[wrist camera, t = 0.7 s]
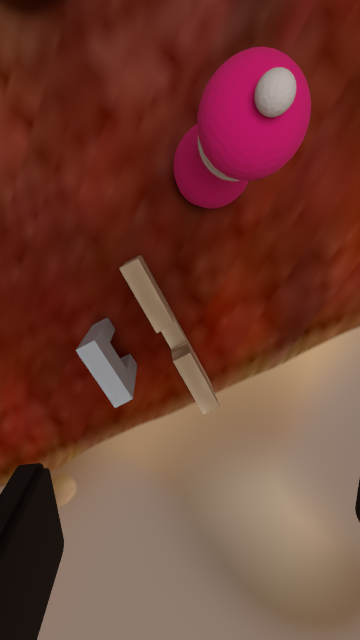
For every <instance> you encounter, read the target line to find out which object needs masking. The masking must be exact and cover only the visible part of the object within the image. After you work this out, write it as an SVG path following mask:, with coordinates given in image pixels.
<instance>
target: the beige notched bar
mask: <svg viewBox="0 0 360 640" xmlns="http://www.w3.org/2000/svg"><path fill="white" fill-rule="evenodd" d="M119 269H120V271H121V272H122V274H123V276H124V278H125V279H126V281H127V283H128V285H129V286H130V288H131V290H132V292H133V293H134V295H135V297H136V298H137V300H138V302H139V304H140V305H141V307H142V309H143V311H144V312H145V314H146V316H147V317H148V319H149V321H150V323H151V324H152V326H153V328H154V330H155V331H156V333H158V332H160V331H161V332H162V334H163V336H164V338H165V339H166V341H167V343H168V345H169V346H170V348H171V352H172V359H173V363H174V364H175V366H176V368H177V369H178V371H179V373H180V375H181V376H182V378H183V380H184V382H185V383H186V385H187V387H188V389H189V390H190V392H191V394H192V395H193V397H194V399H195V401H196V402H197V404H198V405H199V408H200V409H201V411H202V413H203V414H205V413H207V412H209V411H211V410H213V409H215V408H217V407H219V403H218V401H217V398H216V395H215V393H214V390H213V387H212V385H211V382H210V380H209V378H208V376H207V374H206V373H205V371H204V369H203V367H202V365H201V363H200V362H199V360H198V358H197V356H196V354H195V352H194V351H193V349H192V347H191V345H190V343H189V341H188V340H187V338H186V336H185V334H184V332H183V330H182V329H181V327H180V325H179V323H178V321H177V320H176V318H175V316H174V314H173V312H172V310H171V309H170V307H169V305H168V303H167V301H166V299H165V298H164V296H163V294H162V292H161V290H160V288H159V287H158V285H157V283H156V281H155V279H154V277H153V276H152V274H151V272H150V270H149V268H148V266H147V265H146V263H145V261H144V259H143V257H142V255H139V256H137V257H135V258H133V259H131V260H129V261H128V262H126V263H125V264H123V265H122V266H121V267H120V268H119Z"/></svg>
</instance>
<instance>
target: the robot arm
mask: <svg viewBox="0 0 360 640" xmlns="http://www.w3.org/2000/svg"><path fill="white" fill-rule="evenodd" d="M355 508H356V509H355V510H356V514H357V518H358V520H359V522H360V480H359V487H358V493H357V500H356V507H355ZM63 548H64V539H63V533H62V528H61V524H60V519H59V514H58V509H57V504H56V499H55V494H54V489H53V485H52V480H51V475H50V471H49V469H48V468H44V467H43V465H42V464H41V463H37V464H26V465H20V466H18V467H17V468H16V470H15V471H14V473H13V475H12V476H11V478H10V479H9V481H8V483H7V484H6V486H5V488H4V489H3V491H2V493H1V494H0V640H37V637H38V634H39V630H40V627H41V624H42V621H43V617H44V614H45V611H46V607H47V604H48V601H49V597H50V594H51V590H52V587H53V584H54V580H55V577H56V574H57V570H58V567H59V564H60V561H61V557H62V553H63Z"/></svg>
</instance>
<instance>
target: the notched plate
mask: <svg viewBox="0 0 360 640" xmlns="http://www.w3.org/2000/svg"><path fill="white" fill-rule="evenodd" d="M114 332H115V328H114V327H113V325H112V323H111V322H110V320H109V319H108V317H107V318H105V319H103V320H101V321H99V322H98V323H96V324H94V325H92V327H91V328H90V330H89V331H88V333H87V334H86V336H85V337H84V339H83V340H82V342H81V343H80V344H79V346H78V347H77V349H76V352H77V353H78V355H79V356H80V358H81V359H82V360H83V362H84V363H85V365H86V366H87V368H88V369H89V371H90V372H91V374H92V375H93V377H94V378H95V379H96V381H97V382H98V384H99V385H100V387H101V388H102V390H103V391H104V393H105V394H106V396H107V397H108V398H109V400H110V401H111V403H112V404H113V406H114V407H115V408H116V407H118V406H120V405H122V404H124V403H126V402H128V401H130V400H132V399H133V393H134V386H135V378H136V370H137V364H136V362H135V360H134V359H133V357H132V356H131V354H128V355H126V356H124V357H122V358H119V356H118V355H117V353H116V352H115V350H114V348H113V347H112V345H111V344H110V341H111V339H112V336H113V334H114Z"/></svg>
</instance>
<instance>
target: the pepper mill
mask: <svg viewBox="0 0 360 640" xmlns="http://www.w3.org/2000/svg"><path fill="white" fill-rule="evenodd" d="M310 113H311V99H310V92H309V87H308V84H307V81H306V78H305V76H304V75H303V73H302V71H301V70H300V68H299V67H298V66H297V65H296V63H295V62H294V61H293V60H292V59H291V58H289V57H288V56H287V55H286V54H284V53H282V52H280V51H278V50H276V49H273V48H267V47H255V48H250V49H247V50H244V51H242V52H239V53H237V54H235V55H234V56H232V57H231V58H229V59H228V60H227V61H226V62H224V63H223V64H222V65H221V66H220V67H219V68H218V69H217V70H216V72H215V73H214V74H213V76H212V77H211V79H210V80H209V82H208V84H207V86H206V88H205V90H204V92H203V95H202V98H201V101H200V104H199V109H198V115H197V124H196V125H195V126H193V127H192V128H191V129H190V130H189V131H188V132H187V133H186V134H185V135H184V137H183V138H182V140H181V141H180V143H179V145H178V147H177V149H176V152H175V156H174V163H173V169H174V176H175V180H176V183H177V186H178V188H179V190H180V192H181V194H182V195H183V196H184V198H185V199H186V200H188V201H189V202H190V203H192V204H194V205H197V206H200V207H203V208H220V207H223V206H225V205H227V204H229V203H231V202H232V201H234V200H235V199H236V198H237V197H238V196H239V195H240V194H241V193H242V192H243V191H244V189H245V188H246V186H247V184H248V183H249V181H251V180H257V179H260V178H264V177H267V176H269V175H271V174H273V173H274V172H276V171H278V170H279V169H280V168H281V167H282V166H283V165H285V164H286V163H287V162H288V161H289V160H290V159H291V157H292V156H293V155H294V154H295V152H296V151H297V149H298V148H299V146H300V144H301V143H302V141H303V139H304V136H305V134H306V131H307V128H308V124H309V119H310Z"/></svg>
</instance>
